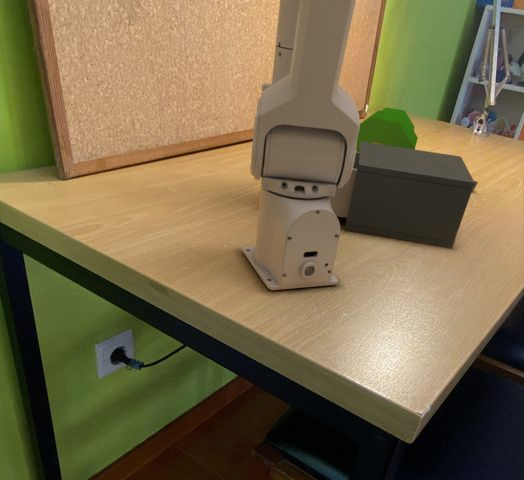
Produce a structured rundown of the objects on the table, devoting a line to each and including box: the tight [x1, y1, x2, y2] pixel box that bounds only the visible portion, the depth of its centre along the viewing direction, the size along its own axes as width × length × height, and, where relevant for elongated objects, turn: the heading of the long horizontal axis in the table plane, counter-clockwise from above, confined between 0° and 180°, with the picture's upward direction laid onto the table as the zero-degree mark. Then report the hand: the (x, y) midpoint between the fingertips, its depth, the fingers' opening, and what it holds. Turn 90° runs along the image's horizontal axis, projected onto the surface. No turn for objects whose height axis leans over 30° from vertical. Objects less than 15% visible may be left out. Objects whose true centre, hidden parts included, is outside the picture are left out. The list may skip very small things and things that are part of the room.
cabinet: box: [344, 141, 475, 249], centre depth 69 cm, size 14×12×9 cm
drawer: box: [331, 151, 359, 219], centre depth 70 cm, size 18×11×7 cm, turn 80°
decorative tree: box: [356, 107, 419, 152], centre depth 86 cm, size 11×12×30 cm
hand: (284, 162), depth 69 cm, fingers closed
